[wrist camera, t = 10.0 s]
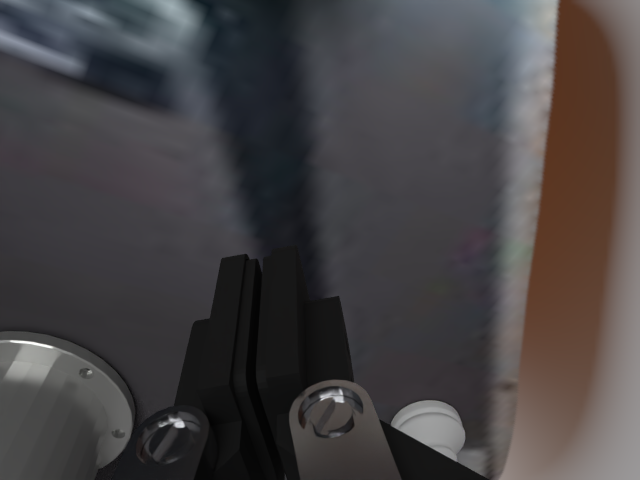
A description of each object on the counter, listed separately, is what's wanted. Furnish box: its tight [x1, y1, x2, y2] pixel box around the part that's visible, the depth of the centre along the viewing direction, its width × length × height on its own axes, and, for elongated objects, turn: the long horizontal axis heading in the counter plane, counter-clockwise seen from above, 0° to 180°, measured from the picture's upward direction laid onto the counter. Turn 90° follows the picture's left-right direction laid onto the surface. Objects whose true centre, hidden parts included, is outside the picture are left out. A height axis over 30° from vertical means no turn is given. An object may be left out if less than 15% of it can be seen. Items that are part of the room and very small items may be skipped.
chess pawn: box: [391, 400, 465, 462], centre depth 36 cm, size 5×5×9 cm
